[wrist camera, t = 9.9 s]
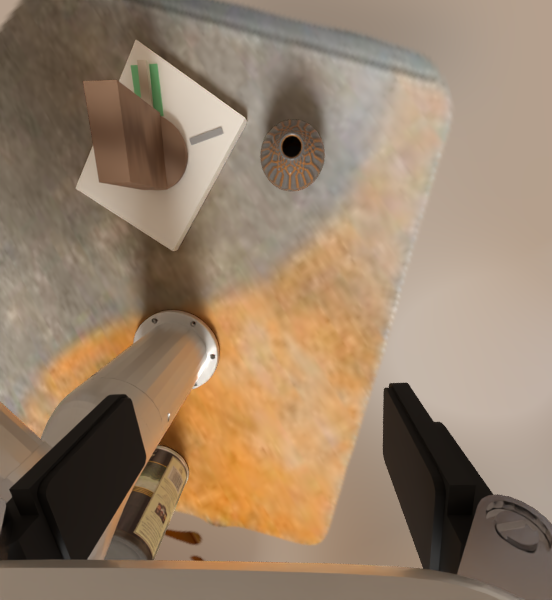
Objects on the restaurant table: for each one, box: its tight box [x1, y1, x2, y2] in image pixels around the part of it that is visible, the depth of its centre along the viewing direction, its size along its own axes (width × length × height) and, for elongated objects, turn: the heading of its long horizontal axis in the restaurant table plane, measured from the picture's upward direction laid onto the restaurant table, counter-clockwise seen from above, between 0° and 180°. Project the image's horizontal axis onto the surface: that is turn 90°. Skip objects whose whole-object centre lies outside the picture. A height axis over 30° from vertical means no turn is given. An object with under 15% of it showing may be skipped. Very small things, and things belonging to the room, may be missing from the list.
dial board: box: [76, 40, 247, 251], centre depth 35 cm, size 18×14×2 cm
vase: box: [261, 119, 325, 191], centre depth 31 cm, size 7×7×9 cm
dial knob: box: [83, 60, 188, 191], centre depth 29 cm, size 13×8×9 cm, turn 0°
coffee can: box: [104, 445, 189, 560], centre depth 43 cm, size 10×10×14 cm
